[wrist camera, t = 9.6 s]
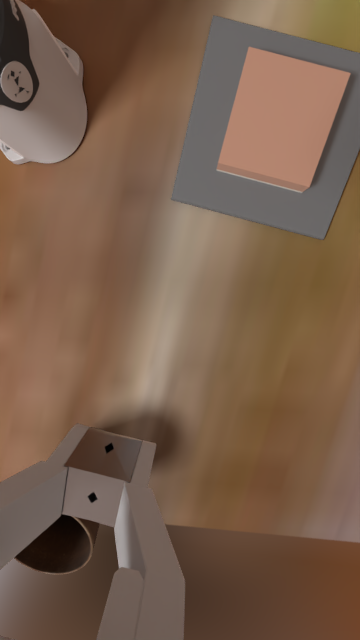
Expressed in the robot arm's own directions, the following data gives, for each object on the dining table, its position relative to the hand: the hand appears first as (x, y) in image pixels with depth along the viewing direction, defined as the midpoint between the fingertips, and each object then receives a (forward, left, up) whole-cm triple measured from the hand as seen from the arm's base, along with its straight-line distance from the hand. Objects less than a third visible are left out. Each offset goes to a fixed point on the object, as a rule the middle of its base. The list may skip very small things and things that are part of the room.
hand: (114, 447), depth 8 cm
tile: (-5, +23, -31) cm, 39 cm away
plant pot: (+10, -38, -33) cm, 51 cm away
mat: (-8, +29, -33) cm, 45 cm away
